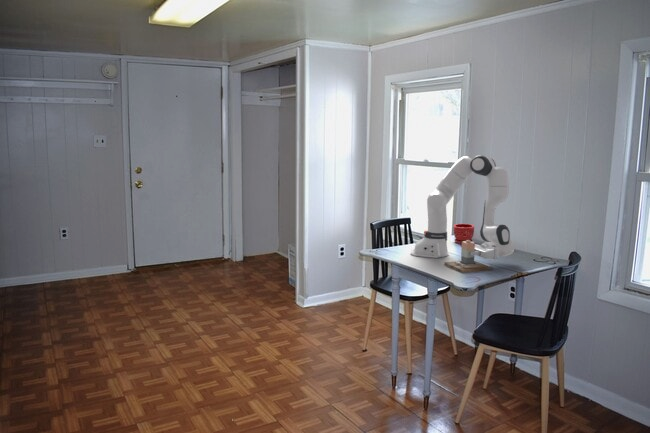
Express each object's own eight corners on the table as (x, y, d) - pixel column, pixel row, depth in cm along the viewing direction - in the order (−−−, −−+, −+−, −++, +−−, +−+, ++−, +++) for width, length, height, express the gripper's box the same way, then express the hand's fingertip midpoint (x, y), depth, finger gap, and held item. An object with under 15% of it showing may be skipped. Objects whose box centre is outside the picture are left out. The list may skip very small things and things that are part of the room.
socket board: (444, 264, 291) (444, 260, 290) (471, 262, 296) (471, 257, 296) (462, 273, 274) (462, 268, 273) (491, 269, 280) (491, 265, 279)
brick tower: (461, 262, 286) (461, 240, 284) (468, 261, 288) (469, 239, 286) (466, 264, 282) (467, 242, 279) (474, 264, 283) (475, 241, 281)
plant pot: (451, 240, 353) (452, 223, 351) (471, 240, 351) (472, 223, 349) (454, 244, 340) (455, 227, 338) (475, 245, 339) (475, 227, 337)
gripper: (476, 240, 297) (456, 242, 292) (499, 248, 278) (477, 250, 273) (476, 251, 298) (455, 253, 293) (499, 259, 279) (477, 262, 274)
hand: (466, 252), depth 283 cm, fingers closed on brick tower, 5 cm apart
